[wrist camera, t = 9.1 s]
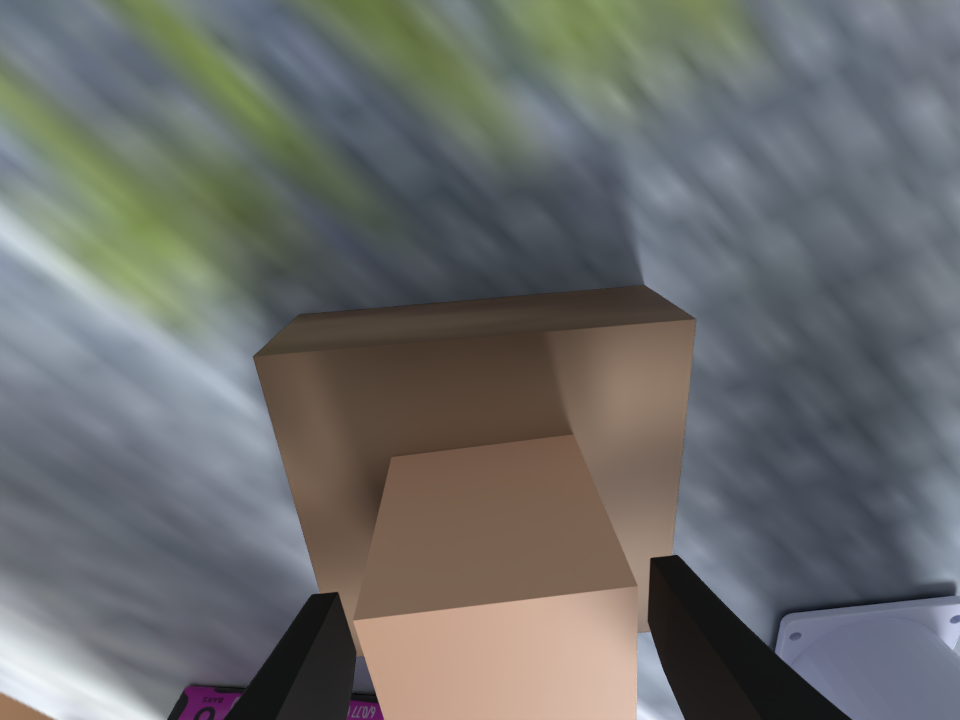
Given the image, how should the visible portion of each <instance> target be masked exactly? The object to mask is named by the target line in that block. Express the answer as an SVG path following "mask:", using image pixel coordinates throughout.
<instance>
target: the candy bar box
mask: <svg viewBox="0 0 960 720" xmlns="http://www.w3.org/2000/svg"><path fill="white" fill-rule="evenodd" d="M245 690H246V689H233V688H216V687H197V686H187V687H185V689H184V691H183V692H182V694H181V696H180V698H179V699H178V701H177V703H176V704H175V706H174V708H173V710H172V712H171V714H170V715H169V717H168V719H167V720H223V719H224V717H225V716H226V715H227V714H228V712H229V711H230V710H231V708H232V707H233V706H234V704H235V703H236V702H237V700H238V699H239V698H240V696H241V695H242V694H243V692H244V691H245ZM346 720H384V717H383V714H382V711H381V708H380V705H379V701H378V698H377V696H368V695H351V700H350V706H349V710H348V715H347V719H346Z"/></svg>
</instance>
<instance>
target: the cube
mask: <svg viewBox="0 0 960 720" xmlns="http://www.w3.org/2000/svg"><path fill="white" fill-rule="evenodd" d="M353 622H354V626H355V629H356V632H357V635H358V638H359V641H360V645H361V648H362V651H363V654H364V657H365V660H366V664H367V667H368V670H369V673H370V676H371V679H372V682H373V686H374V689H375V692H376V695H377V698H378V701H379V705H380V708H381V711H382V714H383V717H384V720H636V708H637V627H638V585H637V583H636V580H635V578H634V575H633V573H632V571H631V568H630V566H629V564H628V561H627V559H626V557H625V554H624V552H623V549H622V547H621V545H620V542H619V540H618V538H617V535H616V533H615V531H614V528H613V526H612V524H611V521H610V519H609V516H608V514H607V512H606V509H605V507H604V505H603V502H602V500H601V498H600V495H599V493H598V490H597V488H596V486H595V483H594V481H593V479H592V476H591V474H590V472H589V469H588V467H587V465H586V462H585V460H584V457H583V455H582V453H581V450H580V448H579V446H578V443H577V441H576V439H575V436H574V434H573V435H565V436H557V437H549V438H541V439H532V440H524V441H516V442H508V443H500V444H492V445H484V446H476V447H468V448H460V449H452V450H444V451H436V452H428V453H420V454H412V455H404V456H396V457H391V461H390V466H389V470H388V474H387V478H386V483H385V487H384V491H383V495H382V500H381V504H380V508H379V512H378V516H377V521H376V525H375V529H374V533H373V538H372V542H371V546H370V550H369V555H368V559H367V563H366V567H365V572H364V576H363V580H362V584H361V589H360V593H359V597H358V601H357V606H356V610H355V614H354V618H353Z"/></svg>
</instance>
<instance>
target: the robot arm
mask: <svg viewBox="0 0 960 720" xmlns="http://www.w3.org/2000/svg"><path fill="white" fill-rule="evenodd" d="M647 621H648V624H649V628H650V631H651V634H652V637H653V640H654V643H655V646H656V649H657V652H658V655H659V658H660V661H661V664H662V667H663V670H664V673H665V675H666V677H667V679H668V682H669V684H670V686H671V689H672V691H673V693H674V696H675V698H676V700H677V702H678V705H679V707H680V709H681V712H682V714H683V716H684V718H685V720H960V657H959V656H958V655H957V654H956V653H955V652H954V651H953V650H954V647H955V645H956V642H957V640H958V637H959V635H960V596H947V597H938V598H929V599H919V600H910V601H901V602H891V603H882V604H873V605H863V606H854V607H845V608H835V609H826V610H817V611H807V612H798V613H791V614H788V615H786V616H785V617H784V618H783V619H782V621H781V624H780V629H779V634H778V639H777V644H776V649H775V652H774V651H772V650H771V649H770V648H769V647H768V646H767V645H766V644H765V643H764V642H763V641H762V640H761V639H760V638H759V637H758V636H757V635H756V634H755V633H754V632H753V631H751V630H750V629H749V628H748V627H747V626H746V625H745V624H744V623H743V622H742V621H741V620H740V619H739V618H738V617H737V616H736V615H735V614H734V613H733V612H732V611H731V610H730V609H729V608H728V607H727V606H726V605H725V604H724V603H723V602H722V601H721V600H720V599H719V598H718V597H717V596H716V595H715V594H714V593H713V592H712V591H711V590H710V588H709V587H708V586H707V585H706V584H705V583H704V582H703V581H702V580H701V579H700V578H699V577H698V576H697V575H696V574H695V573H694V572H693V571H692V569H691V568H690V567H689V566H688V565H687V564H686V563H685V562H684V561H683V560H682V559H681V558H680V557H679V556H678V555H672V556H662V557H653V558H650V574H649V597H648V620H647ZM356 654H357V652H356V648H355V645H354V642H353V638H352V635H351V632H350V629H349V625H348V622H347V619H346V616H345V612H344V609H343V606H342V602H341V599H340V596H339V593H338V592H331V593H321V594H312V595H311V596H310V598H309V599H308V600H307V602H306V603H305V605H304V606H303V607H302V609H301V610H300V612H299V613H298V615H297V616H296V618H295V619H294V621H293V622H292V624H291V625H290V627H289V628H288V630H287V631H286V633H285V634H284V636H283V637H282V639H281V640H280V642H279V643H278V644H277V646H276V647H275V649H274V650H273V652H272V653H271V655H270V656H269V658H268V659H267V660H266V662H265V663H264V665H263V666H262V667H261V669H260V670H259V671H258V673H257V674H256V676H255V677H254V678H253V680H252V681H251V683H250V684H249V685H248V687H247V688H246V690H245V691H244V692H243V694H242V695H241V696H240V698H239V699H238V700H237V702H236V703H235V704H234V706H233V707H232V708H231V710H230V711H229V712H228V714H227V715H226V716H225V717H224V719H223V720H346V719H347V715H348V710H349V706H350V700H351V693H352V686H353V679H354V671H355V662H356Z"/></svg>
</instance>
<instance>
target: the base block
mask: <svg viewBox="0 0 960 720" xmlns="http://www.w3.org/2000/svg"><path fill="white" fill-rule="evenodd" d="M695 327H696V319H695V318H694V317H692V316H691V315H689V314H688V313H686V312H685V311H683V310H682V309H680V308H679V307H677V306H676V305H674V304H673V303H671V302H669V301H668V300H666V299H665V298H663V297H662V296H660V295H659V294H657V293H656V292H654V291H653V290H651V289H650V288H648V287H647V286H645V285H641V286H629V287H618V288H606V289H594V290H582V291H571V292H559V293H547V294H535V295H523V296H512V297H500V298H488V299H476V300H464V301H453V302H441V303H429V304H417V305H406V306H394V307H382V308H370V309H358V310H347V311H335V312H323V313H311V314H300V315H298V316H297V317H296V318H295V319H294V320H293V321H292V322H290V323H289V324H288V325H287V326H286V327H285V328H284V329H283V330H282V331H281V332H279V333H278V334H277V335H276V336H275V337H274V338H273V339H272V340H271V341H270V342H268V343H267V344H266V345H265V346H264V347H263V348H262V349H261V350H260V351H259V352H257V353H256V354H255V355H254V356H253V359H254V362H255V366H256V369H257V373H258V376H259V380H260V383H261V387H262V390H263V394H264V397H265V401H266V404H267V408H268V411H269V415H270V418H271V422H272V426H273V429H274V433H275V436H276V440H277V443H278V447H279V450H280V454H281V457H282V461H283V464H284V468H285V471H286V475H287V478H288V482H289V485H290V489H291V492H292V496H293V499H294V503H295V506H296V510H297V514H298V517H299V521H300V524H301V528H302V531H303V535H304V538H305V542H306V545H307V549H308V552H309V556H310V559H311V563H312V566H313V570H314V573H315V577H316V580H317V584H318V587H319V591H320V594H321V593H331V592H338V593H339V596H340V599H341V602H342V606H343V609H344V612H345V616H346V619H347V622H348V625H349V629H350V632H351V635H352V638H353V642H354V645H355V648H356V652H357V654H356V657H360V656H364V654H363V651H362V648H361V645H360V641H359V638H358V635H357V632H356V629H355V626H354V622H353V618H354V614H355V610H356V606H357V601H358V597H359V593H360V589H361V584H362V580H363V576H364V572H365V567H366V563H367V559H368V555H369V550H370V546H371V542H372V538H373V533H374V529H375V525H376V521H377V516H378V512H379V508H380V504H381V500H382V495H383V491H384V487H385V483H386V478H387V474H388V470H389V466H390V461H391V457H396V456H404V455H412V454H420V453H428V452H436V451H444V450H452V449H460V448H468V447H476V446H484V445H492V444H500V443H508V442H516V441H524V440H532V439H541V438H549V437H557V436H565V435H573V434H574V436H575V439H576V441H577V443H578V446H579V448H580V450H581V453H582V455H583V457H584V460H585V462H586V465H587V467H588V469H589V472H590V474H591V476H592V479H593V481H594V483H595V486H596V488H597V490H598V493H599V495H600V498H601V500H602V502H603V505H604V507H605V509H606V512H607V514H608V516H609V519H610V521H611V524H612V526H613V528H614V531H615V533H616V535H617V538H618V540H619V542H620V545H621V547H622V549H623V552H624V554H625V557H626V559H627V561H628V564H629V566H630V568H631V571H632V573H633V575H634V578H635V580H636V583H637V585H638V627H637V633H642V632H651V631H650V628H649V624H648V621H647V620H648V597H649V574H650V558H653V557H662V556H672V549H673V540H674V530H675V520H676V511H677V501H678V491H679V482H680V472H681V462H682V453H683V443H684V433H685V424H686V414H687V404H688V395H689V385H690V375H691V366H692V356H693V346H694V337H695Z"/></svg>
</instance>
